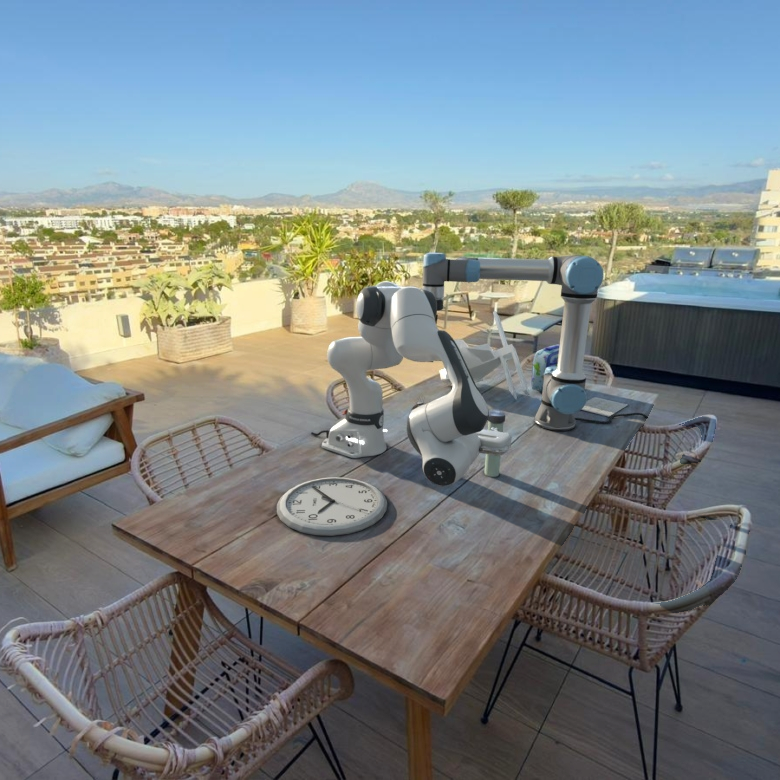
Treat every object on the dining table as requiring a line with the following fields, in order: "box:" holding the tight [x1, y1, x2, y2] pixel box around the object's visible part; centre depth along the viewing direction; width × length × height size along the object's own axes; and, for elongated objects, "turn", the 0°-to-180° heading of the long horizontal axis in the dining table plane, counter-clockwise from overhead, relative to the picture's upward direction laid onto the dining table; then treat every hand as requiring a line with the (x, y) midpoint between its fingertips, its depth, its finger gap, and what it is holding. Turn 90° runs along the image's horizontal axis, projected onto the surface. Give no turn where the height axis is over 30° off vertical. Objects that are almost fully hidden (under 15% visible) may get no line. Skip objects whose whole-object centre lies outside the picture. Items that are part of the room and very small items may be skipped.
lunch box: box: [530, 344, 560, 393], centre depth 247 cm, size 26×11×21 cm, turn 134°
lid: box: [487, 410, 506, 424], centre depth 157 cm, size 5×5×2 cm
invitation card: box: [580, 396, 629, 418], centre depth 226 cm, size 21×1×15 cm
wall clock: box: [276, 476, 388, 537], centre depth 142 cm, size 30×2×30 cm
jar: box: [483, 420, 505, 478], centre depth 160 cm, size 4×4×20 cm
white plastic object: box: [438, 310, 531, 400], centre depth 245 cm, size 37×45×31 cm
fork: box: [410, 395, 425, 412], centre depth 222 cm, size 3×16×2 cm, turn 160°
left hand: (476, 427), depth 135 cm, fingers open, 8 cm apart
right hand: (430, 357), depth 190 cm, fingers open, 13 cm apart
